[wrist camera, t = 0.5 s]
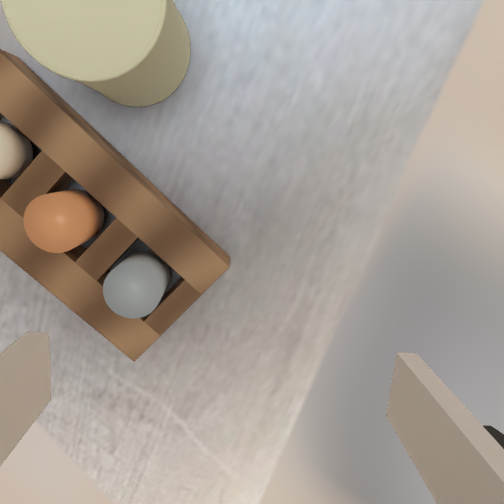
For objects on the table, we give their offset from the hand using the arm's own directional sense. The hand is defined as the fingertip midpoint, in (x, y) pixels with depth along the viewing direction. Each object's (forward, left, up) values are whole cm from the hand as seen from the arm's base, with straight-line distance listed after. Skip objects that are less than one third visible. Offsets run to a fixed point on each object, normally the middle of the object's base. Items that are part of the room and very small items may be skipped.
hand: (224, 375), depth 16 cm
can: (-17, +6, -23) cm, 30 cm away
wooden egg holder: (-11, -7, -23) cm, 26 cm away
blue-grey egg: (-4, -7, -21) cm, 22 cm away
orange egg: (-11, -7, -21) cm, 25 cm away
